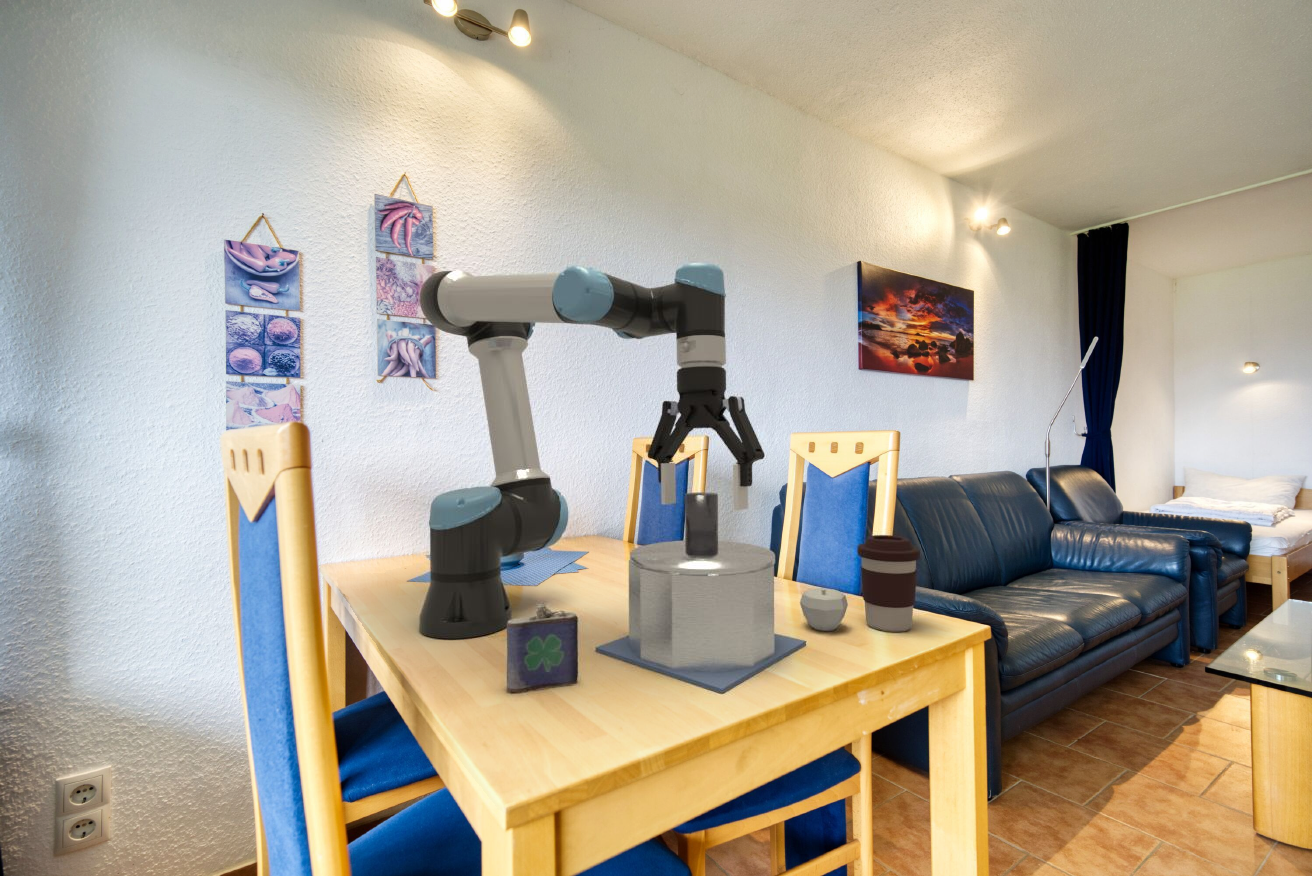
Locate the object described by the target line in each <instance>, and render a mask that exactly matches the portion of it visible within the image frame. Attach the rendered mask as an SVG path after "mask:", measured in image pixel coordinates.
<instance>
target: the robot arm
mask: <svg viewBox="0 0 1312 876" xmlns="http://www.w3.org/2000/svg"><path fill="white" fill-rule="evenodd" d="M726 297H727V295H726V290H725V277H724V271H723V270H722V268H721V267H720V266H718V265H716V264H714V263H710V262H701V261H700V262H690V263H686V264H683V265H682V266H679V267H678V268H677V269H676V270H675V276H674V283H671V284H667V285H663V286H657V287H645V286H642V285H640V284H637V283H634V282H631V281H627V280H625V279H622V278H618V277H616V276H614V275H611V274H608V273H605V272H602V271H601V270H598V269H597V268H593V267H588V266H587V267H586V266H582V265H579V264H578V265H576V264H575V265H571V266H568V267H566V269H564V270H562V271H560V272H559V273H556V272H555V273H554V272H553V273H530V274H529V273H528V274H527V273H526V274H502V275H501V274H499V275H496V274H495V275H473V274H472V273H469V272H467V271H465V270H443V271H442V270H441V271H438V272H435V273H433V274H432V275H431V276H429V277H427V279H425V280H424V282H423V284H422V286H421V288H420V291H419V307H420V308H421V309H420V310H421V313H422V314H423V315H424V317H425V319H426V320H427V321H428V322H429V323H430V324H431V325H432V326H434V327H435V328H436V329H438V330H440V331H442V332H444V333H447V334H451V335H456V336H461V337H465V338H466V342H467V348H468V352H469V353H470V355H472V356H473V357H475V358H477V361H478V368H479V374H480V381H481V387H482V392H483V400H484V406H485V412H486V420H487V425H488V433H489V439H490V447H491V452H492V458H493V459H492V460H493V464H494V471H495V478H494V480H493V481H492V482H491V484H490V485H489V486H474V487H473V486H472V487H466V488H465V487H464V488H459V489H454V490H453V489H452V490H451V491H450V490H449V491H446V492H443V493H441V494H439V495H437V496H435V498H434V499H433V500H432V501H431V504H430V511H429V512H430V513H429V520H428V526H429V540H430V541H429V542H430V543H429V544H430V545H429V549H430V550H429V552H430V553H429V554H430V555H429V558H430V559H429V561H430V563H429V565H430V566H429V567H430V578H429V580H430V581H429V582H430V583H429V587H428V589H427V593H426V596H425V598H424V601H423V605H422V608H421V612H420V614H419V618H418V619H419V621H418V622H419V632H420V633H421V634H422V635H425V636H427V637H431V638H437V639H447V640H449V639H452V640H453V639H467V638H474V637H475V638H476V637H480V636H481V637H482V636H485V635H489V634H493V633H496V632H498V631H501V630H503V629H505V628H507V622H508V621H509V620H512V607H511V603H510V601H509V598H508V595H507V592H506V589H505V586H504V583H503V581H502V568H501V567H502V558H505V557H509V556H516V555H520V554H523V553H529V552H536V551H540V550H543V549H545V548H549V547H551V546H554V545H555V544H556V543H558V542H559V541H560V539H561V538H562V536H563V534H564V533H565V532H566V530H567V527H568V522H569V506H568V503H567V500H566V498H565V496H564V495H562V494H561V492H560V490H558V489H556V488H554V487H552V481H551V476H550V475H549V474H547V473H545V472H544V471H543V470H542V469H541V463H540V456H539V450H538V445H537V438H536V434H535V432H536V431H535V426H534V419H533V414H532V408H531V401H530V395H529V389H528V382H527V378H526V377H527V376H526V372H525V371H526V370H525V364H524V359H523V352H524V351H525V350H526V349H527V348H528V346H529V343H528V341H529V339H530V338H531V337H532V336H533V334H534V329H533V328H534V327H535V326H536V324H537V323H540V324H543V323H544V324H546V323H547V324H570V325H571V324H572V325H591V326H597V327H603V328H608V329H611V330H612V331H613V332H614V333H615V334H617V336H618V337H619V338H620V339H624V340H630V339H631V340H632V339H637V340H641V339H642V340H643V339H644V338H650V337H655V336H662V335H668V334H675V333H676V334H675V335H676V338H675V339H676V365H677V366H678V367H680V368H679V369H677V371H676V391H677V392H678V395H679V400H678V402H677V401H675V400H674V401H673V400H672V401H670V400H664V401H663V402H662V406H661V407H662V409H661V415H660V418H659V421H658V424H657V427H656V430H655V433H654V435H653V438H652V441H651V443H650V446H649V449H648V452H647V458H648V459H650V460H654V461H656V463H657V477H658V479H657V480H658V483H659V484H660V488H661V489H660V490H661V491H660V492H661V493H660V494H661V495H660V496H661V497H660V499H661V503H660V504H661V505H664V506H665V505H672V504H676V503H677V498H676V497H677V494H676V491H677V488H676V484H677V483H676V480H677V479H676V463H675V462H674V460H673V458H674V457H675V455H676V453H677V452H678V450H679V449H680V447H681V446H682V445H683V443H684V441H685V440H686V438H687V437H688V435H689V433H690V432H692V431H693V430H694V429H712V431H715V432H716V434H717V435H718V436H719V438H720V440H721V441H722V443H724V445H725V446H726V448H727V450H729V451H730V453H731V455H732V456H733V457H734V458H735V460H736V461H737V462H735V464H733V465H732V478H733V481H732V482H733V483H732V485H733V487H732V489H733V491H732V492H733V511H742V510H748V509H749V487H752V485H753V465H754V463H755V462H758V461H759V460H763V459H764V458H765V452H764V450H763V448H762V445H761V443H760V441H759V438H758V436H757V434H756V432H755V430H754V428H753V426H752V423H751V421H750V418H749V417H748V414H747V412H746V407H745V406H746V405H745V400H744V397H742V396H735V395H731V396H729V397H728V398H726V396H725V393H726V391H727V370H726V369H725V368H724V367H723V366H724V365H726V364H727V351H726V350H727V349H726V347H727V345H726V333H725V330H726V327H725V326H726V325H725V323H726V317H725V316H726V310H725V309H726V307H725V305H726ZM726 410H727V411H728V412H729V414H730V418H731V420H732V423H733V425H734V427H735V429H736V431H737V433H736V432H735V431H734V429H733V428H732V427H731V424H730V422H729V420H728V419H727V417H726V416H725V415H724V414H725V413H726V412H725V411H726ZM678 414H679V415H680V416H679V417H678ZM677 417H678V419H677ZM676 420H677V421H676ZM737 434H738V435H737Z"/></svg>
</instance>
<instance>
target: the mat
mask: <svg viewBox="0 0 1312 876" xmlns="http://www.w3.org/2000/svg"><path fill="white" fill-rule="evenodd" d="M806 645H807V640H803V639H799V638H795V637H791V636H787V635H782V634H778V633H775V632H774V656H773V657H771V658H769V659H767V660H766V661H764V662H762V663H760V664H758V665H757V666H755V667H752V668H746V669H739V670H732V671H726V672H719V673H706V672H692V671H677V670H670V669H667V668H664V667H661V666H658V665H655V664H652V663H649V662H646V661H643V660H640V658H639V657H638V656H637V655H636V654H635V653H634V652H633V650H632V649H631V648H630V647H629V634H628V635H625V636H623V637H620V638H617V639H614V640H612V641H610V642H609V641H608V642H607V643H604V644H601V645H599V646H596V647H595V652H596V653H599V654H601V655H605V656H607V657H610V658H614V659H617V660H620V661H622V662H626V663H628V664H632V665H635V666H638V667H640V668H644V669H646V670H650V671H652V672H656V673H658V674H661V675H665V676H668V677H671V678H673V679H676V680H680V681H683V682H685V683H689V684H691V685H694V686H697V687H699V688H700V687H701V688H704V689H707V690H709V691H711V692H716V693H719V694H725V693H726V692H728V691H729V690H732V689H733V688H735V687H736V686H738V685H740V684H742V683H743V682H745V681H747V680H748V679H750V678H752V677H754V676H756V675H757V674H759V673H760V672H762V671H764V670H765V669H767V668H769V667H770V666H772V665H774V664H776V663H778V662H779V661H781V660H783V659H784V658H787V656H788V657H789V655H791V654H793V653H795V652H796V651H798V650H800V649H802V648H803V647H806Z"/></svg>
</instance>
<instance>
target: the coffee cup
mask: <svg viewBox="0 0 1312 876" xmlns="http://www.w3.org/2000/svg"><path fill="white" fill-rule="evenodd" d="M857 555H858V556H859V557H860V558H861V566H860V577H861V590H862V599H863V601H864V611H865V613H864V614H865V622H866V624H867V625H868V626H869V627H871V629H872V628H873V629H875V630H879V631H884V632H888V633H891V632H892V633H901V632H906V631H909V630H911V628H912V627H913V617H914V616H913V614H914V613H913V612H914V606H915V604H916V603H915V602H916V587H917V578H918V576H917V575H918V572H917V568H916V567H917V561H918V560H920V559H921V550H920V548H919V547H918V546H914V545H913V544H912V541H911V540H910V539H909V538H908V537H904V536H898V535H889V534H874V535H869V536H867V537H866V540H865V542H864V543H860V544H858V545H857Z"/></svg>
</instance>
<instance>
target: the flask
mask: <svg viewBox="0 0 1312 876" xmlns="http://www.w3.org/2000/svg"><path fill="white" fill-rule="evenodd" d="M546 605H547V602H546V601H541V602H539V603H536V609H537V610H536V611H535V614H536V615H531V616H525V617H524V616H523V617H516V618H511V620H509V621H508V622H507V627H506V646H507V647H506V690H507V692H508V693H509V694H510V693H517V694H519V693H526V692H531V691H541V690H545V689H548V688H557V687H565V686H573V685H575V684H578V683H579V682H578V679H579V678H578V677H579V658H578V657H579V651H578V649H579V646H578V645H579V640H578V639H579V637H578V635H579V625H578V624H579V618H578V616H577V614H576V613H574V612H572V611H570V612H566V611H565V610H558V611H556V610H555V611H552V610H551V609H549V608H547V607H546Z"/></svg>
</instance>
